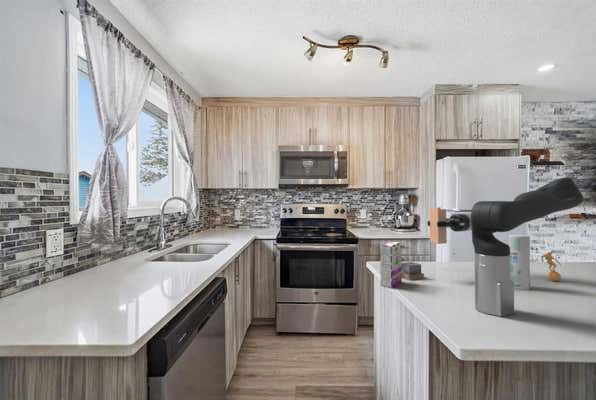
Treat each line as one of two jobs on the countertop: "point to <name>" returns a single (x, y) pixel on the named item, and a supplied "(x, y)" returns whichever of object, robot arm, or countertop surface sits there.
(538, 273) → the countertop surface
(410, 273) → the tower stand
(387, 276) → the candy bar box
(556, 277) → the figurine
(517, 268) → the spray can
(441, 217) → the terracotta brick
